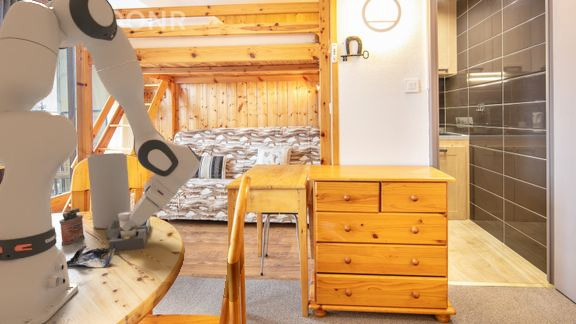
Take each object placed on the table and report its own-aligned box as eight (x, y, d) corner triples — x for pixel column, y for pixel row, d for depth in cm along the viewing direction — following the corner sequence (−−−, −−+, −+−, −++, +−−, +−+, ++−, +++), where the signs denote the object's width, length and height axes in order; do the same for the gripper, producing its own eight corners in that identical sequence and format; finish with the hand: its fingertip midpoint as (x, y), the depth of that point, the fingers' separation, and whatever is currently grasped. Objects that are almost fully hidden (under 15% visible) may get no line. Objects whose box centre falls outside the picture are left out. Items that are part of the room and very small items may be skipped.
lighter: (68, 245, 116) (65, 213, 115) (58, 245, 116) (55, 212, 115) (87, 237, 124) (84, 206, 122) (78, 237, 124) (75, 206, 123)
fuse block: (144, 248, 112) (143, 236, 111) (110, 251, 109) (109, 239, 109) (146, 238, 121) (145, 226, 121) (115, 241, 119) (114, 230, 118)
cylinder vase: (136, 224, 138) (131, 154, 135) (99, 231, 130) (93, 157, 127) (124, 218, 147) (119, 152, 145) (88, 224, 139) (82, 155, 136)
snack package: (70, 278, 92) (121, 264, 100) (66, 252, 92) (117, 239, 100) (61, 272, 102) (108, 260, 109) (57, 248, 102) (105, 237, 109)
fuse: (136, 246, 114) (134, 214, 113) (119, 248, 112) (117, 216, 111) (137, 241, 118) (135, 211, 117) (121, 243, 117) (119, 212, 116)
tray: (148, 235, 124) (147, 226, 124) (107, 239, 121) (106, 230, 121) (150, 225, 136) (149, 217, 135) (113, 229, 132) (112, 220, 132)
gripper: (151, 180, 125) (121, 212, 123) (148, 191, 106) (111, 229, 104) (166, 192, 127) (136, 224, 125) (166, 205, 108) (130, 243, 106)
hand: (125, 227), depth 114 cm, fingers closed on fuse, 4 cm apart
